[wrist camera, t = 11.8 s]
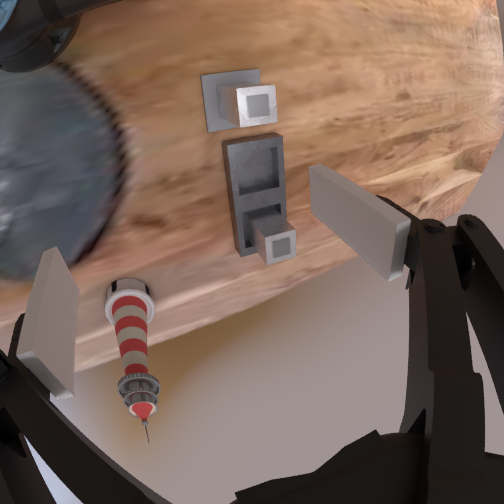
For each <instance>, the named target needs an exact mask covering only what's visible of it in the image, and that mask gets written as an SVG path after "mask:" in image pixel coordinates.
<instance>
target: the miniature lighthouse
mask: <svg viewBox="0 0 504 504" xmlns="http://www.w3.org/2000/svg"><path fill="white" fill-rule="evenodd" d="M105 314H106V317H107V319H108V320H109V321H110V322H111V323H112V324H113V325H114V326H115V331H116V336H117V340H118V345H119V349H120V354H121V358H122V362H123V366H124V370H125V374H126V376H124V377H122V378H121V379H120V381H119V382H118V393H119V395H120V396H121V397H122V398H123V399H124V404H125V405H126V406H127V407H128V413H129V414H130V415H132V416H134V417H138V416H139V417H138V418H141V419H142V424H143V425H144V426H145V428H146V425H148V421H147V418H148V417H150V416H153V415H154V414H156V413H157V411H158V406H157V405H156V404H157V403H158V397H157V396H158V394H159V392H160V389H161V388H160V385H159V381H158V380H157V379H156V378H155V377H154V376H152V375H150V374H148V365H147V364H148V363H147V324H148V323H149V322H150V321H151V320H152V318H153V317H154V314H155V304H154V302H153V300H152V299H151V298H150V294H149V289H148V287H147V286H146V284H144V283H142V282H140V281H139V280H137V279H131V278H125V279H120V280H117V281H114V282H113V283H112V285H111V286H110V287H109V289H108V291H107V301H106V304H105ZM158 389H159V390H158ZM157 392H158V393H157ZM155 401H156V402H155ZM128 404H129V405H128ZM155 406H156V407H157V411H156V410H155ZM129 409H130V411H131V413H132V414H131V413H130V412H129ZM154 410H155V411H156V412H155V413H153V411H154ZM151 413H153V414H151ZM133 414H134V415H133ZM135 414H136V416H135ZM149 414H151V415H149ZM137 415H138V416H137ZM146 432H147V428H146ZM147 437H148V433H147ZM148 442H149V439H148Z"/></svg>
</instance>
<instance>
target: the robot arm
mask: <svg viewBox="0 0 504 504" xmlns="http://www.w3.org/2000/svg"><path fill="white" fill-rule="evenodd" d="M118 1H122V0H0V69H2V70H4V71H8V72H29V71H33V70H36V69H38V68H41V67H43V66H45V65H46V64H48V63H50V62H51V61H52V60H54V59H55V58H56V57H57V56H58V55H60V54H61V53H62V52H63V50H64V49H65V48H66V47H67V46H68V44H69V43H70V41H71V40H72V38H73V36H74V35H75V32H76V30H77V28H78V25H79V21H80V15H81V13H83V12H86V11H89V10H92V9H95V8H98V7H101V6H105V5H108V4H111V3H115V2H118ZM309 179H310V195H311V213H312V214H313V215H315V216H316V217H317V218H318V219H319V220H320V221H322V222H323V223H324V224H325V225H326V226H327V227H328V228H330V229H331V230H332V231H333V232H334V233H335V234H336V235H338V236H339V237H340V238H341V239H342V240H343V241H344V242H345V243H347V244H348V245H349V246H350V247H351V248H352V249H353V250H354V251H355V252H357V253H358V254H359V255H360V256H361V257H362V258H363V259H364V260H365V261H366V262H368V263H369V264H370V265H371V266H372V267H373V268H374V269H375V270H376V271H377V272H378V273H380V274H381V275H382V276H383V277H384V278H385V279H386V280H387V281H388V282H389V281H391V280H393V279H396V278H398V277H400V276H402V272H403V266H404V264H405V265H406V266H407V267H409V268H410V270H409V276H408V280H407V284H406V289H408V287H409V358H408V376H407V377H408V378H407V390H406V402H405V411H404V416H403V420H402V423H401V426H400V430H399V433H390V434H384V435H379V433H378V432H377V430H374V431H372V432H370V433H369V434H367V435H365V436H364V437H362V438H360V439H358V440H356V441H354V442H353V443H351V444H349V445H347V446H345V447H344V448H342V449H341V450H340V451H339V452H338V453H337V454H335V455H334V456H333V457H332V458H331V459H329V460H328V461H327V462H326V463H325V464H323V465H322V466H321V467H320V468H318V469H317V470H316V471H314V472H312V473H308V474H303V475H297V476H292V477H286V478H280V479H273V480H269V481H267V482H264V483H261V484H259V485H256V486H253V487H250V488H247V489H244V490H241V491H238V492H235V495H236V497H237V499H236V500H235V501H233V502H232V503H230V504H504V456H503V455H498V454H493V453H488V452H485V408H484V389H483V381H482V376H481V375H480V373H475V372H474V371H473V366H472V355H471V346H470V338H469V330H468V323H467V317H466V312H467V315H468V317H469V319H470V322H471V324H472V326H473V329H474V331H475V334H476V336H477V339H478V341H479V344H480V346H481V349H482V352H483V354H484V357H485V360H486V362H487V365H488V368H489V371H490V373H491V377H492V380H493V383H494V386H495V389H496V392H497V395H498V399H499V402H500V405H501V408H502V411H503V414H504V249H503V248H502V246H501V245H500V243H499V242H498V241H497V239H496V238H495V237H494V236H493V234H492V233H491V232H490V230H489V229H488V228H487V226H486V225H485V224H484V223H483V222H482V221H481V220H480V219H479V218H477V217H476V216H472V215H470V214H469V215H467V214H465V215H460V216H459V217H458V221H457V226H449V227H446V226H445V225H444V224H443V223H442V222H440V221H438V220H435V219H422V220H420V219H418V218H417V217H415V216H414V215H412V214H411V213H409V212H408V211H406V210H405V209H403V208H401V207H400V206H399V205H397V204H395V203H394V202H392V201H391V200H389V199H388V198H385V197H382V196H379V195H376V196H375V195H373V194H372V193H370V192H368V191H367V190H365V189H364V188H362V187H360V186H359V185H357V184H355V183H354V182H352V181H350V180H349V179H347V178H345V177H344V176H342V175H340V174H339V173H337V172H335V171H334V170H332V169H330V168H328V167H327V166H325V165H323V164H317V165H313V166H309ZM474 262H475V265H474ZM78 300H79V288H78V286H77V284H76V282H75V281H74V279H73V277H72V275H71V273H70V271H69V270H68V268H67V266H66V264H65V262H64V260H63V258H62V256H61V254H60V252H59V250H58V248H57V246H56V247H54V248H51V249H49V250H46V251H44V253H43V255H42V258H41V261H40V264H39V267H38V271H37V274H36V277H35V280H34V283H33V287H32V290H31V294H30V297H29V301H28V305H27V308H26V312H25V313H23V314H21V315H20V317H19V318H18V320H17V322H16V323H15V327H14V331H13V335H12V339H11V341H12V342H11V344H10V348H9V353H8V357H7V356H6V355H5V353H4V352H3V351H2V350H1V349H0V504H56V502H55V500H54V498H53V496H52V494H51V493H50V491H49V489H48V487H47V485H46V483H45V481H44V479H43V477H42V475H41V473H40V471H39V469H38V467H37V465H36V462H35V460H34V458H33V456H32V454H31V451H30V449H29V447H28V444H27V442H26V439H25V437H26V438H27V439H28V441H29V442H30V444H31V445H32V446H33V448H34V449H35V450H36V451H37V453H38V454H39V455H40V456H41V458H42V459H43V460H44V461H45V462H46V464H47V465H48V466H49V467H50V468H51V470H52V471H53V472H54V473H55V474H56V475H57V476H58V477H59V479H60V480H61V481H62V482H63V483H64V484H65V485H66V486H67V487H68V488H69V489H70V491H71V492H72V493H73V494H74V495H75V496H76V497H77V498H78V499H79V500H80V501H81V502H82V503H84V504H172V503H170V502H169V501H167V500H166V499H164V498H163V497H161V496H160V495H158V494H157V493H155V492H154V491H153V490H151V489H150V488H148V487H147V486H146V485H144V484H143V483H141V482H140V481H139V480H137V479H136V478H135V477H133V476H132V475H131V474H130V473H128V472H127V471H126V470H124V469H123V468H122V467H121V466H119V465H118V464H117V463H115V461H113V460H112V459H111V458H110V457H108V456H107V455H106V454H105V453H104V452H103V451H102V450H100V449H99V448H98V447H97V446H96V445H95V444H94V443H93V442H91V441H90V440H89V439H88V438H87V437H86V436H85V435H84V434H83V433H82V432H80V431H79V429H77V428H76V427H75V426H74V425H73V424H72V423H71V422H70V421H69V420H68V419H67V418H66V417H65V416H64V415H63V414H62V412H61V411H59V409H58V408H57V407H56V406H55V405H54V404H53V403H52V402H51V401H50V392H51V393H52V394H53V395H54V396H55V397H56V398H57V399H58V400H61V399H65V398H69V397H73V396H74V358H75V337H76V322H77V310H78ZM24 436H25V437H24Z"/></svg>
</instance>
